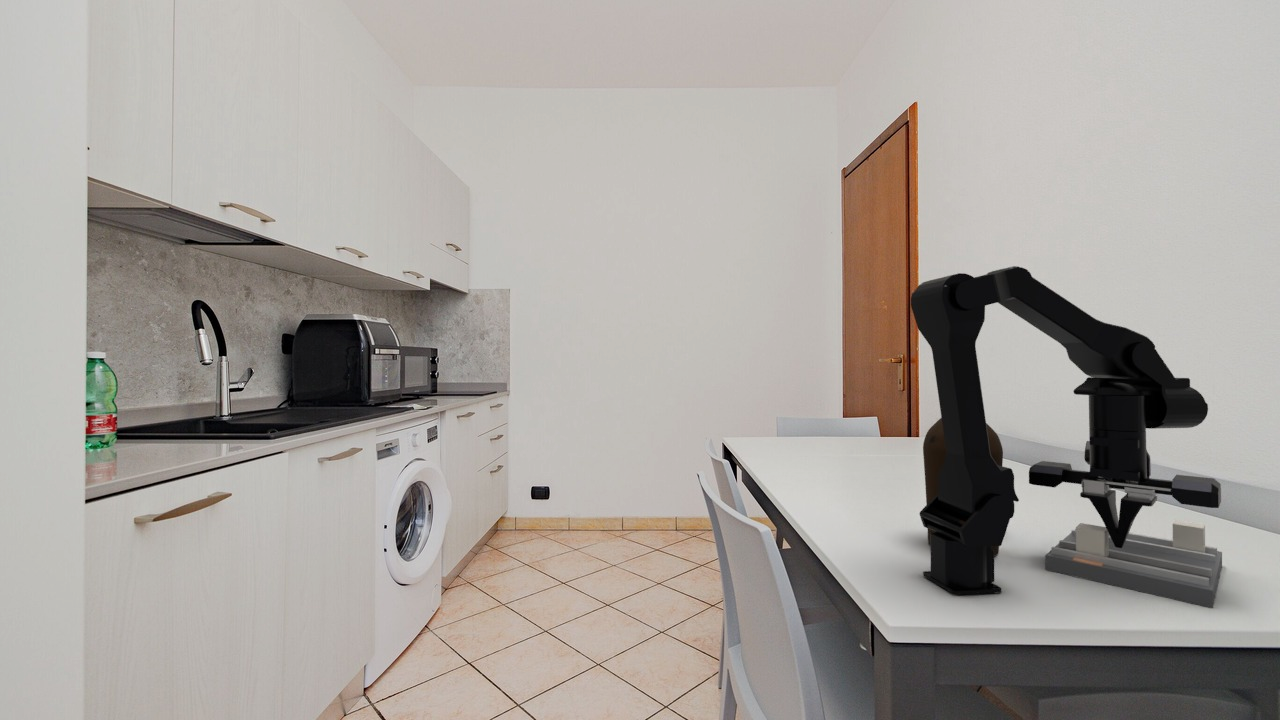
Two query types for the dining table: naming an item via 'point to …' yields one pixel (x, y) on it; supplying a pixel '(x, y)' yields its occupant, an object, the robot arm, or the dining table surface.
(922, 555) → the dining table surface
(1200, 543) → the tab far
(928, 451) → the olive oil
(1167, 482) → the robot arm
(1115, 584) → the switch panel
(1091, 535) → the tab near
